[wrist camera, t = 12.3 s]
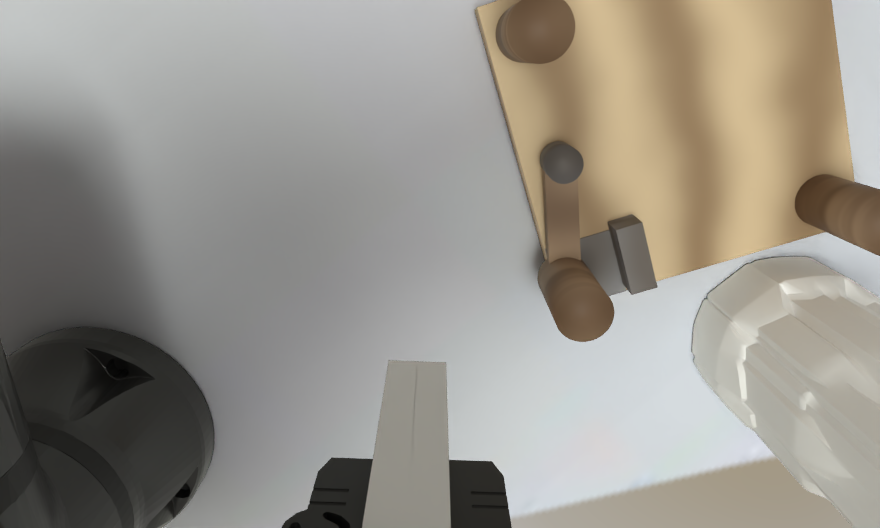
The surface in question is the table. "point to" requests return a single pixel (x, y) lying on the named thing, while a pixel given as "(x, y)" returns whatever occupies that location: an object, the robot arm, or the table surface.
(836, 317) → the white tall rough piece
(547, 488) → the table surface
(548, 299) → the hinged leg
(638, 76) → the stool seat
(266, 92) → the table surface
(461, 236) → the table surface
